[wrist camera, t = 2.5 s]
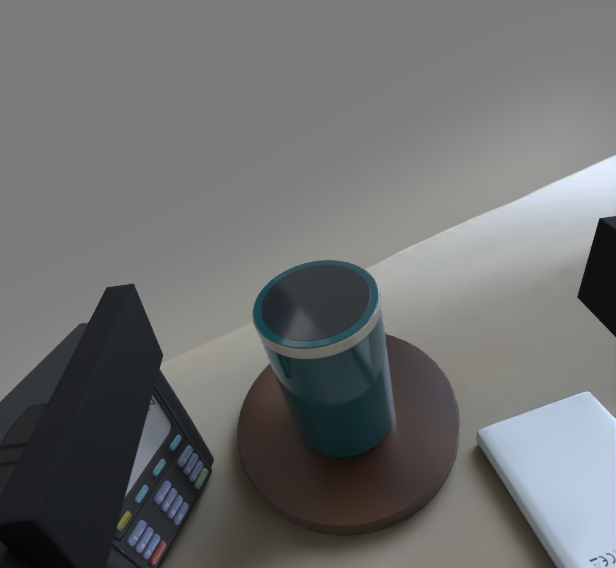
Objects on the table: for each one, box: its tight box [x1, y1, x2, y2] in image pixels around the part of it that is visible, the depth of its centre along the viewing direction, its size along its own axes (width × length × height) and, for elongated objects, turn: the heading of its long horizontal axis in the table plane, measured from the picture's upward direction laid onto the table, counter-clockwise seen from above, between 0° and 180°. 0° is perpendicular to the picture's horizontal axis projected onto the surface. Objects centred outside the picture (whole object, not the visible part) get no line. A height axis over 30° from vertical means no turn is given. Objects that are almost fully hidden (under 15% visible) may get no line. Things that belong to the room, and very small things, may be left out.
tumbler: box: [253, 260, 395, 458], centre depth 29 cm, size 8×8×11 cm
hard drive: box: [476, 391, 616, 568], centre depth 25 cm, size 2×8×12 cm
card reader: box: [0, 322, 214, 568], centre depth 26 cm, size 9×4×15 cm, turn 157°
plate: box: [237, 334, 459, 535], centre depth 33 cm, size 16×16×1 cm
